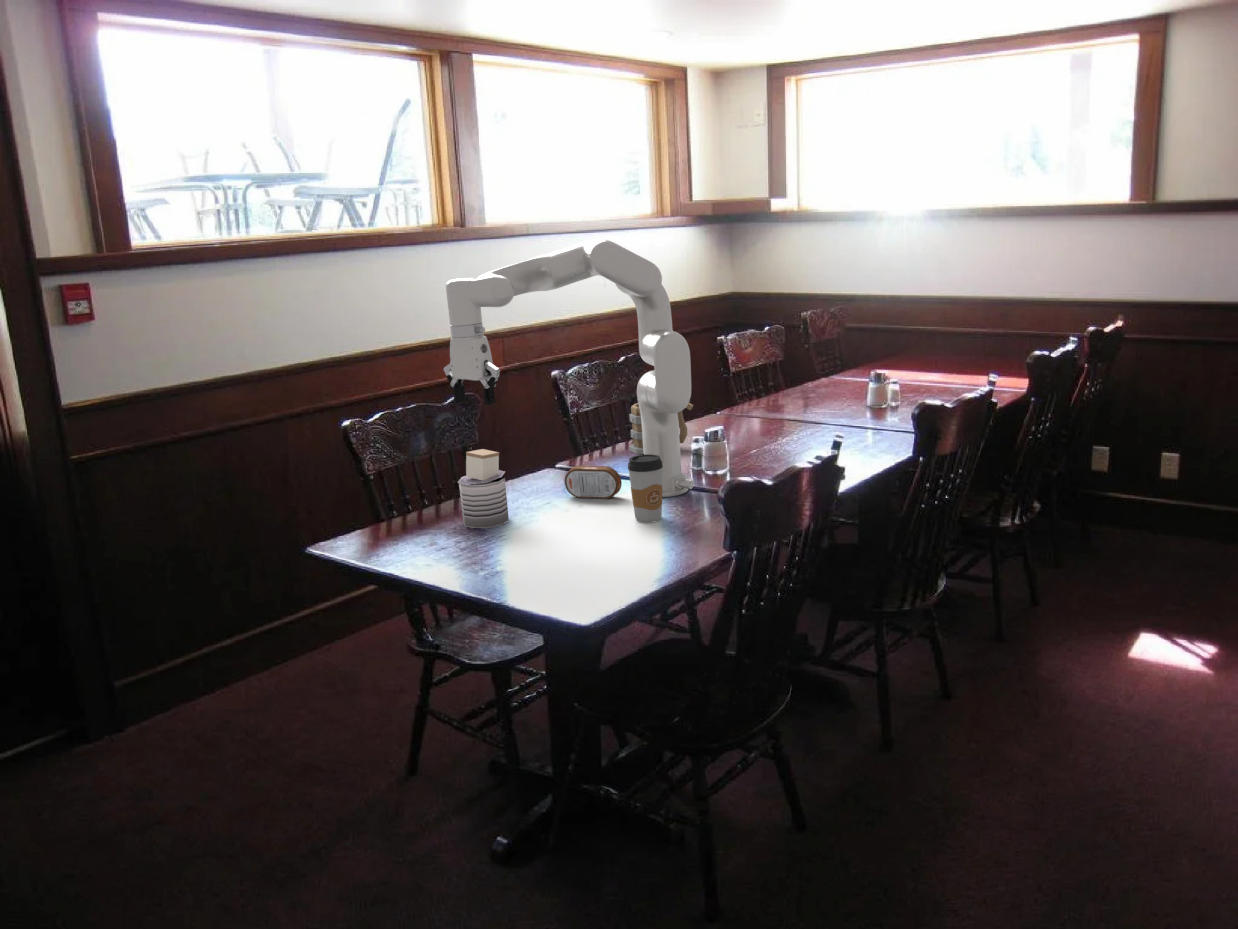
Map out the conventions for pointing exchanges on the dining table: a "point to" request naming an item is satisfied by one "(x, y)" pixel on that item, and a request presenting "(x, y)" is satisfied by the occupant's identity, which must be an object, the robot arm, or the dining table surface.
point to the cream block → (482, 464)
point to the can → (484, 501)
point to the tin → (593, 482)
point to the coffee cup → (646, 487)
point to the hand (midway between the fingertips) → (475, 403)
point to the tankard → (637, 428)
